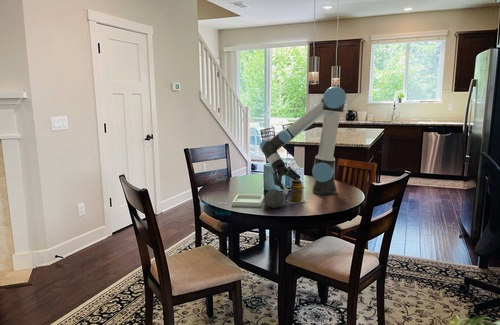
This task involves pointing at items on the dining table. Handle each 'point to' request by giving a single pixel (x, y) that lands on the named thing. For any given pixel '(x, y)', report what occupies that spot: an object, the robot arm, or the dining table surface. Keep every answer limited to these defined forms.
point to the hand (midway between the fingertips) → (295, 191)
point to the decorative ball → (274, 198)
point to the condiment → (296, 192)
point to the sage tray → (248, 200)
